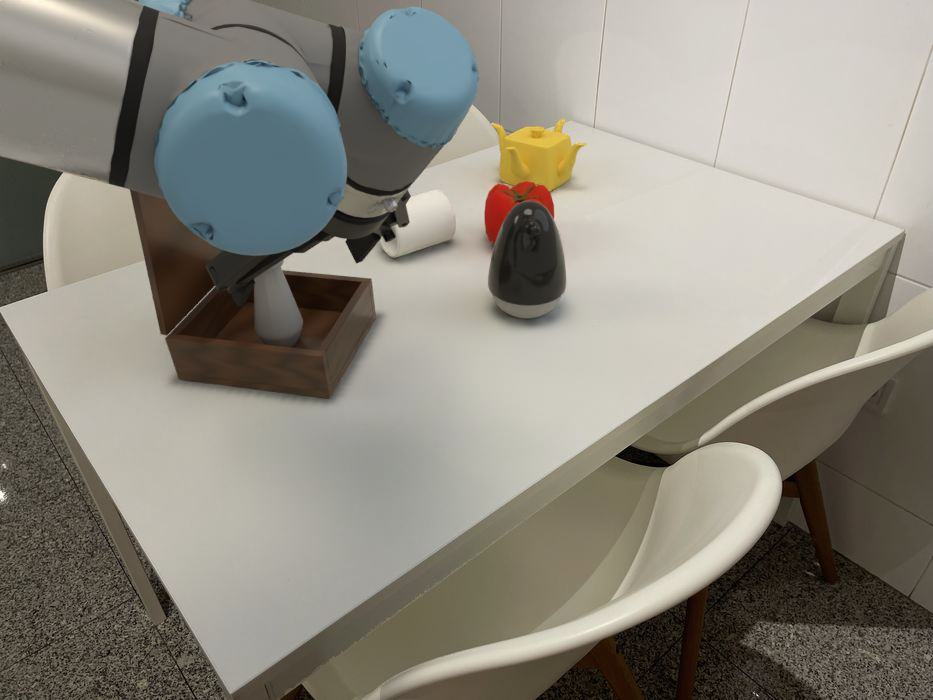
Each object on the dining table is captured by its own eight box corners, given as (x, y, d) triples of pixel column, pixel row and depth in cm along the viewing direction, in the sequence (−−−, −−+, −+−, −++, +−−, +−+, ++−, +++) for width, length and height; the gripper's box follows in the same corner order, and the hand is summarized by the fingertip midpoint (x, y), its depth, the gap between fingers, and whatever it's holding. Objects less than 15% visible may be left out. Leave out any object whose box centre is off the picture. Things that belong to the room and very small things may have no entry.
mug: (457, 247, 108) (455, 199, 103) (401, 266, 103) (397, 217, 99) (417, 220, 116) (414, 174, 111) (364, 236, 112) (358, 189, 107)
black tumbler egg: (492, 332, 89) (492, 223, 80) (484, 290, 98) (484, 187, 89) (571, 327, 90) (580, 219, 81) (557, 286, 98) (563, 183, 89)
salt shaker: (311, 345, 86) (294, 251, 78) (266, 359, 84) (243, 264, 76) (297, 322, 90) (279, 231, 82) (253, 335, 88) (230, 243, 80)
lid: (219, 112, 80) (164, 102, 81) (132, 168, 67) (67, 156, 67) (237, 263, 92) (189, 253, 93) (167, 335, 79) (111, 324, 79)
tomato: (485, 261, 104) (484, 205, 99) (484, 225, 114) (483, 172, 109) (556, 260, 104) (560, 204, 99) (549, 224, 114) (552, 171, 108)
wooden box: (376, 317, 93) (371, 278, 89) (329, 399, 79) (322, 356, 76) (244, 303, 96) (235, 265, 92) (178, 379, 83) (164, 338, 79)
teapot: (490, 167, 134) (490, 117, 128) (561, 162, 135) (565, 112, 130) (505, 199, 122) (506, 145, 116) (583, 192, 124) (588, 139, 118)
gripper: (223, 271, 48) (195, 348, 66) (500, 178, 60) (411, 265, 79) (175, 174, 48) (161, 278, 66) (461, 101, 60) (382, 206, 79)
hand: (297, 271), depth 73 cm, fingers open, 13 cm apart
